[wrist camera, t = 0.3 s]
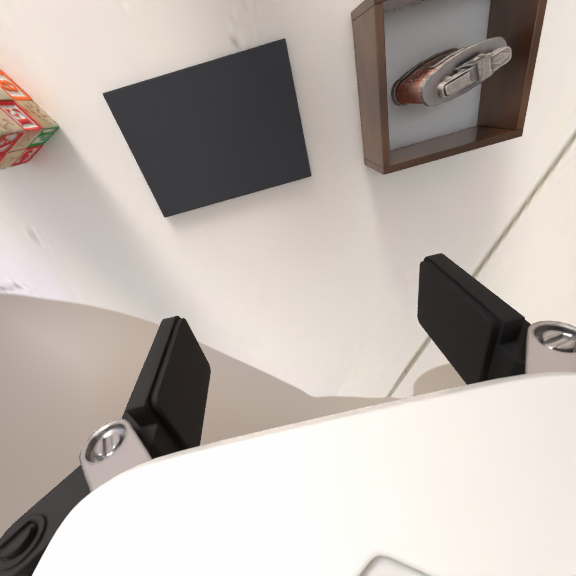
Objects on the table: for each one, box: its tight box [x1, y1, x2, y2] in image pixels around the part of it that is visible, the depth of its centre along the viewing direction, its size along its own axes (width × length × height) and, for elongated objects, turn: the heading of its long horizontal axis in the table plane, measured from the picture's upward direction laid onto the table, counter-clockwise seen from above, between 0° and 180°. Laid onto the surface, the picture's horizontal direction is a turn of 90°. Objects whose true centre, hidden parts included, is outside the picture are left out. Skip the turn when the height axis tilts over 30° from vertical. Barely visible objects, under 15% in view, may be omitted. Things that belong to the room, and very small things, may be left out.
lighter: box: [391, 37, 512, 106], centre depth 29 cm, size 8×3×10 cm, turn 119°
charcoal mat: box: [103, 38, 311, 217], centre depth 34 cm, size 14×20×1 cm
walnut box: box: [351, 0, 547, 175], centre depth 31 cm, size 15×16×6 cm
